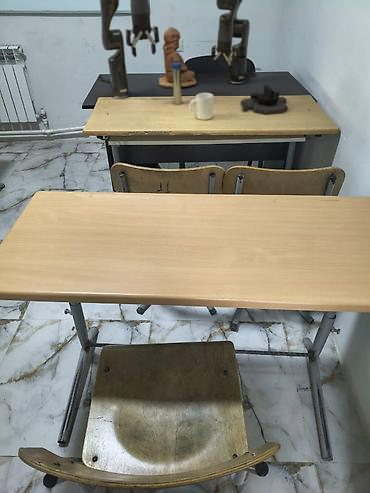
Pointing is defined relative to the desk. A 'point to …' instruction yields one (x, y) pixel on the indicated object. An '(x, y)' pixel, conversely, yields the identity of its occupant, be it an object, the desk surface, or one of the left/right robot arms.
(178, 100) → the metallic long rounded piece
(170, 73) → the sculpture
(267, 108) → the abstract sculpture
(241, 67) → the right robot arm
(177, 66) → the lid
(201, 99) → the mug
